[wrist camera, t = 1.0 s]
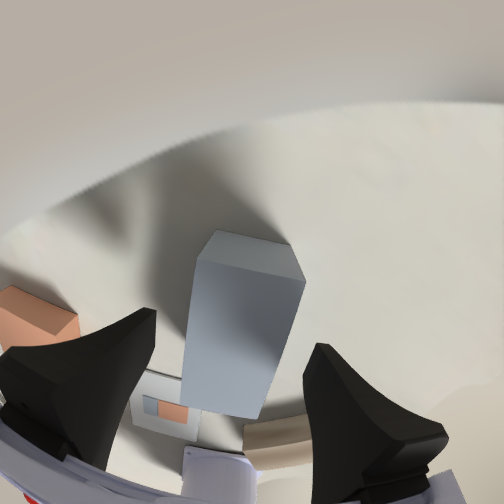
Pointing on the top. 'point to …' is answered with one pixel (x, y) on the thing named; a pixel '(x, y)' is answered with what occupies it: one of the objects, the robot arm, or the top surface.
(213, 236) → the top brick
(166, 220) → the top surface
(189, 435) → the page
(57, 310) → the base brick
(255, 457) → the brick
